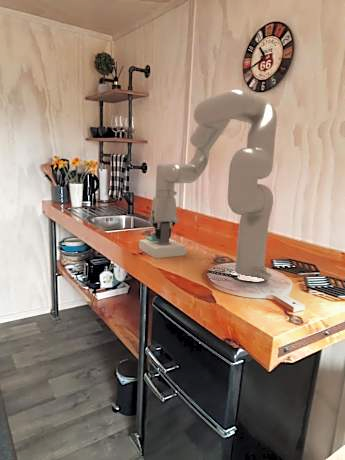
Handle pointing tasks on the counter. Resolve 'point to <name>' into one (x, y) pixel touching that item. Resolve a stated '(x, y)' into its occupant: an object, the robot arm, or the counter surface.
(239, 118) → the robot arm
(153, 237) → the shutter
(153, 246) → the socket
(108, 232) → the counter surface
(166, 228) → the dark grey upright block
